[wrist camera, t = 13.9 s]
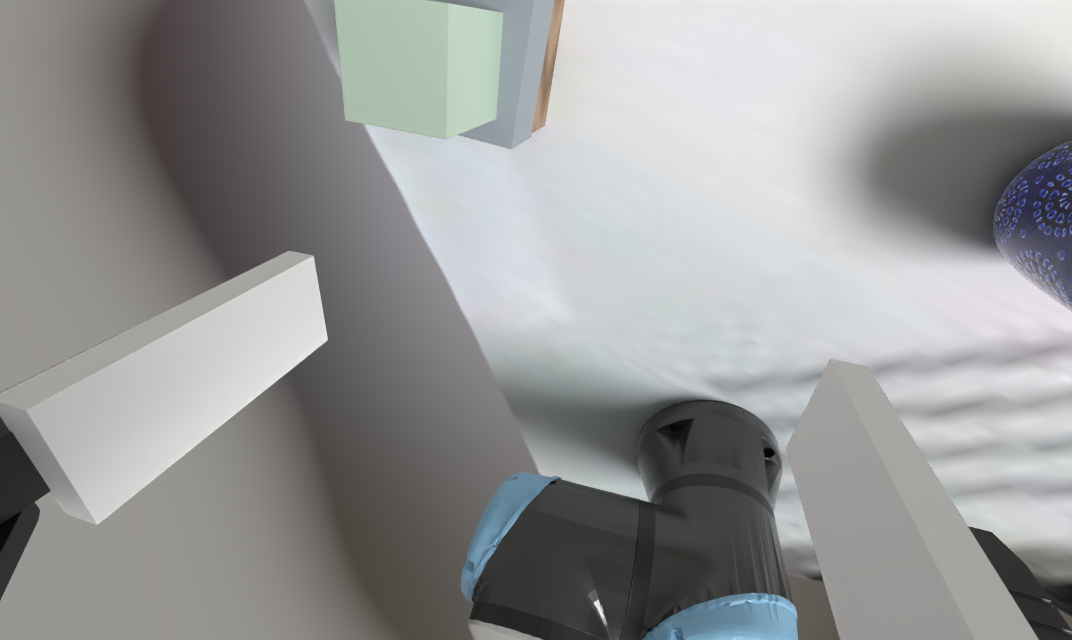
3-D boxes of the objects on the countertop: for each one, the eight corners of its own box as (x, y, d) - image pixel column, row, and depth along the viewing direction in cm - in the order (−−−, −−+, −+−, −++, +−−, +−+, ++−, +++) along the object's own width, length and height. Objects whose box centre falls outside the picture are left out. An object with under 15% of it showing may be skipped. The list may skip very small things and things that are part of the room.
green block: (496, 119, 31) (446, 139, 25) (414, 104, 32) (345, 120, 25) (503, 13, 28) (448, 3, 21) (412, 0, 29) (332, -14, 22)
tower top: (530, 137, 36) (511, 149, 32) (424, 109, 37) (392, 117, 33) (554, -2, 31) (535, -8, 27) (431, -29, 32) (394, -40, 28)
